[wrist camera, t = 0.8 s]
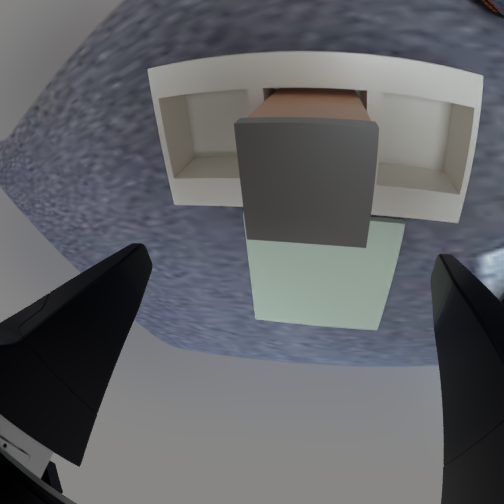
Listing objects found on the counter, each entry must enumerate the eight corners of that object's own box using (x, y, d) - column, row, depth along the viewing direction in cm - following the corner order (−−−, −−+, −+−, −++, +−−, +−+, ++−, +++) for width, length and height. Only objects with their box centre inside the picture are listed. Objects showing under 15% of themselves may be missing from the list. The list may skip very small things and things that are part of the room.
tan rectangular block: (355, 87, 16) (379, 127, 8) (353, 156, 19) (366, 247, 11) (279, 84, 17) (233, 123, 10) (283, 153, 20) (247, 239, 12)
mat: (404, 219, 21) (405, 223, 20) (377, 325, 28) (377, 330, 28) (244, 208, 24) (242, 212, 23) (256, 314, 31) (255, 319, 31)
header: (456, 67, 13) (483, 75, 10) (441, 192, 19) (458, 223, 16) (178, 61, 18) (147, 68, 15) (196, 178, 23) (174, 204, 20)
